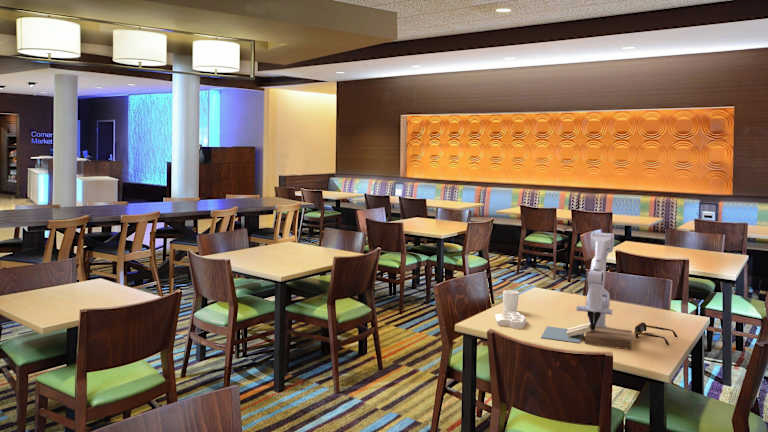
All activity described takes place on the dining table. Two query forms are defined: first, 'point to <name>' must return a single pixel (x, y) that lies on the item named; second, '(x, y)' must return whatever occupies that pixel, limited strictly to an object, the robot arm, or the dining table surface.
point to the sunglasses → (642, 327)
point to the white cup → (510, 300)
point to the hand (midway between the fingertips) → (593, 328)
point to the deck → (609, 337)
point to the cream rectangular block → (579, 329)
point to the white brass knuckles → (511, 319)
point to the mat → (560, 335)
